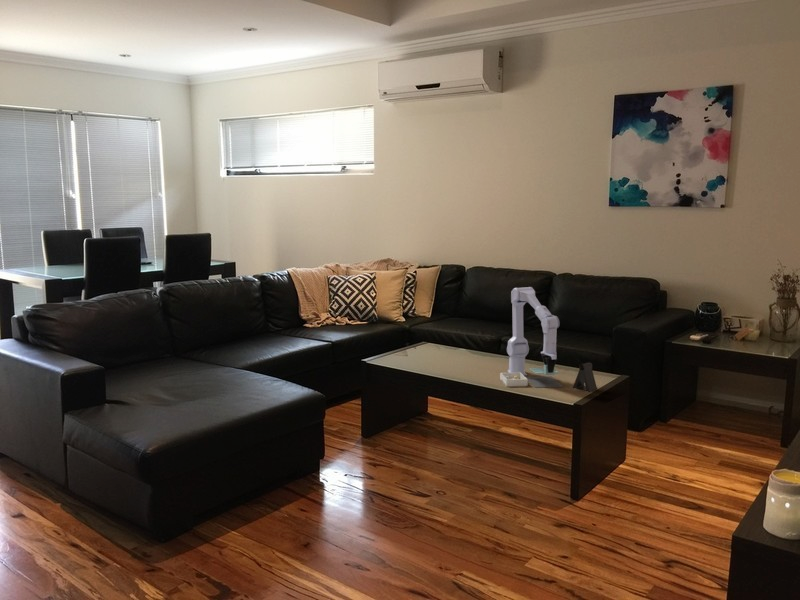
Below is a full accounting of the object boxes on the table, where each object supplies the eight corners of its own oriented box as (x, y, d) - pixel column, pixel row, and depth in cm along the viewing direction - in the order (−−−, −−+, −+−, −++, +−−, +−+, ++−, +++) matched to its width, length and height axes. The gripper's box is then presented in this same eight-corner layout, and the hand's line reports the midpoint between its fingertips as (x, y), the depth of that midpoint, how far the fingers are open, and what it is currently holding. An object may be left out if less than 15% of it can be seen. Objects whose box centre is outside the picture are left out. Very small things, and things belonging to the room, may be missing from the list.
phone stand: (572, 388, 311) (573, 362, 309) (580, 385, 315) (581, 360, 313) (589, 392, 304) (590, 366, 302) (597, 389, 308) (598, 364, 306)
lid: (529, 369, 327) (528, 360, 327) (550, 368, 328) (550, 359, 327) (538, 375, 310) (538, 366, 310) (561, 374, 311) (561, 365, 310)
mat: (525, 377, 329) (525, 377, 329) (551, 377, 330) (551, 376, 330) (535, 387, 312) (535, 387, 312) (563, 386, 313) (563, 386, 313)
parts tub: (500, 379, 326) (500, 372, 326) (520, 378, 327) (520, 372, 327) (506, 386, 314) (506, 379, 313) (527, 386, 314) (527, 379, 314)
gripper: (537, 339, 317) (536, 367, 319) (545, 346, 303) (545, 375, 305) (551, 339, 318) (550, 367, 319) (561, 345, 303) (560, 375, 305)
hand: (549, 371), depth 312 cm, fingers closed on lid, 3 cm apart
